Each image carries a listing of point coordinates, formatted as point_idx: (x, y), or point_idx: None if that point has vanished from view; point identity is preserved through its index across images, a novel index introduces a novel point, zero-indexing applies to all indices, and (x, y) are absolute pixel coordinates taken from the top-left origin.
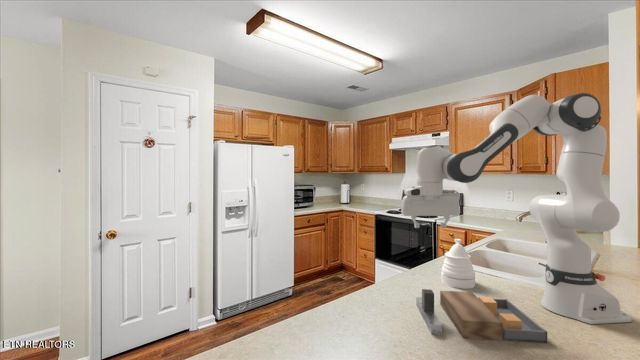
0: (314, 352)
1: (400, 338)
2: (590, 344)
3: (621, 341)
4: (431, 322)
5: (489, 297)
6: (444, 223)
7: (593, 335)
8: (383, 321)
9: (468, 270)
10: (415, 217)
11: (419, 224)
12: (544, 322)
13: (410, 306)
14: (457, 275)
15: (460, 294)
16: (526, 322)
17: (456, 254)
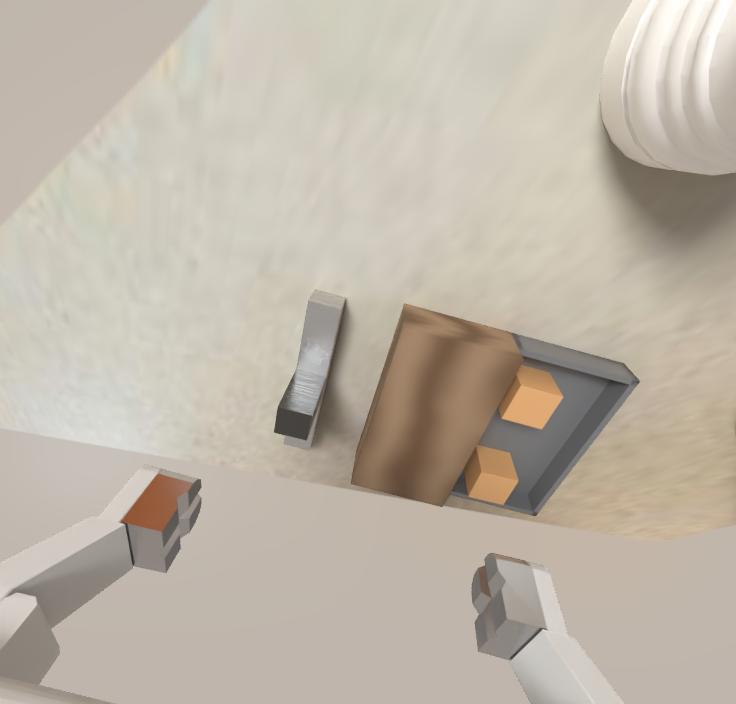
0: (37, 430)
1: (213, 426)
2: (616, 513)
3: (702, 520)
4: (288, 436)
5: (555, 397)
6: (506, 657)
7: (675, 498)
8: (183, 361)
9: None
10: (29, 672)
11: (173, 557)
12: (633, 443)
13: (289, 296)
14: (658, 152)
15: (460, 369)
16: (560, 457)
17: None
